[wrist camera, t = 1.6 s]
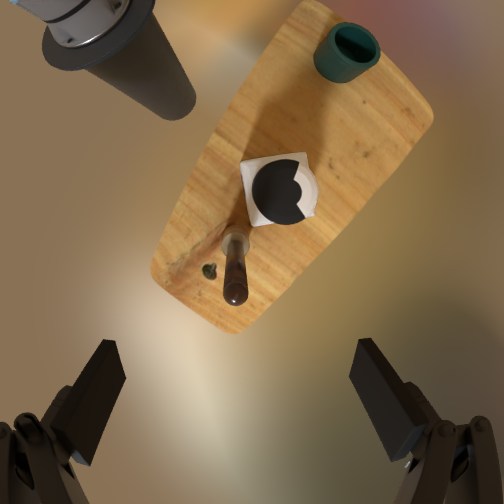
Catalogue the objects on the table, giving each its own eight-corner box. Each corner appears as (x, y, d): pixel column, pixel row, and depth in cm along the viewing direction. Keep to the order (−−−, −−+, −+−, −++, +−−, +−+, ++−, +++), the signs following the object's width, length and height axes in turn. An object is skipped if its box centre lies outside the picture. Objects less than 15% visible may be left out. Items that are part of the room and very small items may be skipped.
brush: (218, 232, 40) (203, 291, 21) (240, 220, 39) (244, 268, 20) (230, 253, 41) (227, 326, 22) (252, 241, 40) (267, 306, 21)
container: (248, 216, 39) (254, 239, 27) (238, 163, 37) (240, 159, 25) (301, 207, 39) (331, 225, 27) (293, 154, 37) (320, 148, 25)
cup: (304, 51, 32) (319, 28, 25) (341, 39, 32) (361, 18, 24) (329, 89, 34) (349, 73, 27) (365, 76, 34) (389, 60, 26)
